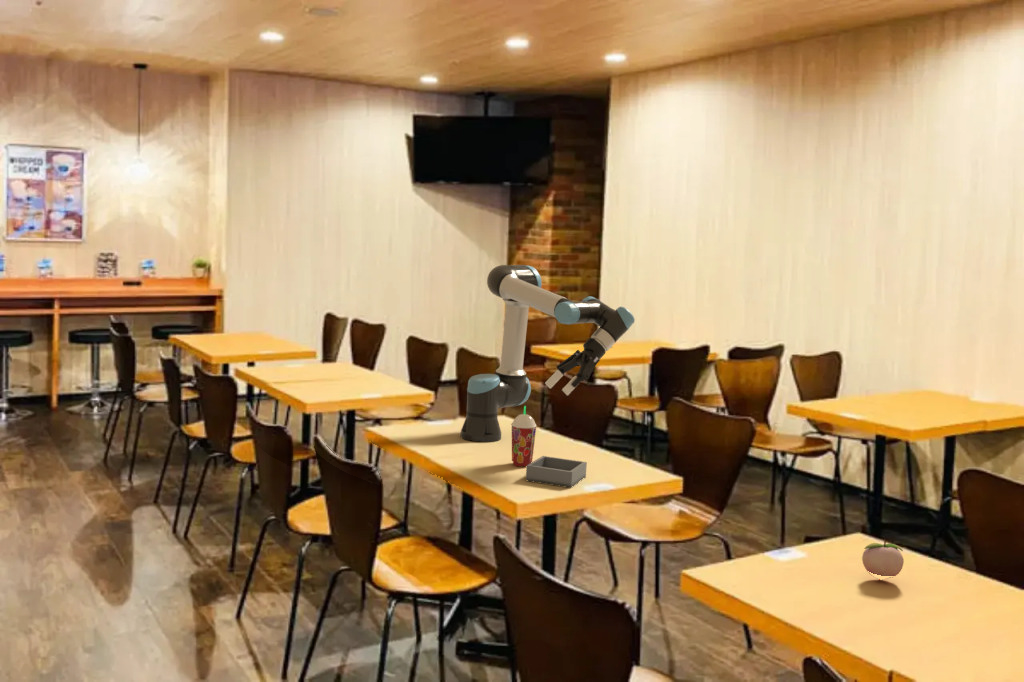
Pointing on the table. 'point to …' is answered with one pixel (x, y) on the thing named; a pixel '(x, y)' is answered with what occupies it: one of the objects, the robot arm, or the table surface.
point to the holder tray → (556, 471)
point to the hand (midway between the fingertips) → (555, 389)
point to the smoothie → (523, 439)
